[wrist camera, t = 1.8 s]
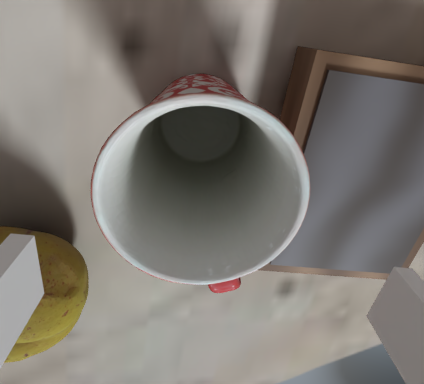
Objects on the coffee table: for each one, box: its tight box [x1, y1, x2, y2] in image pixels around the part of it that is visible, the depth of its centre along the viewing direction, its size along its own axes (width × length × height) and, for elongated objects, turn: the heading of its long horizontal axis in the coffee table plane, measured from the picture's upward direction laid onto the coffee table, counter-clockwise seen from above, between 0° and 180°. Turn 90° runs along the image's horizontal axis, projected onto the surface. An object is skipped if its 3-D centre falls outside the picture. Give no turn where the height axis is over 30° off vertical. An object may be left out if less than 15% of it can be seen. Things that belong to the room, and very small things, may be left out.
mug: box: [91, 74, 310, 293], centre depth 19 cm, size 13×9×14 cm
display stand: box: [258, 46, 424, 280], centre depth 25 cm, size 14×18×4 cm
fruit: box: [0, 226, 88, 363], centre depth 25 cm, size 11×12×10 cm
